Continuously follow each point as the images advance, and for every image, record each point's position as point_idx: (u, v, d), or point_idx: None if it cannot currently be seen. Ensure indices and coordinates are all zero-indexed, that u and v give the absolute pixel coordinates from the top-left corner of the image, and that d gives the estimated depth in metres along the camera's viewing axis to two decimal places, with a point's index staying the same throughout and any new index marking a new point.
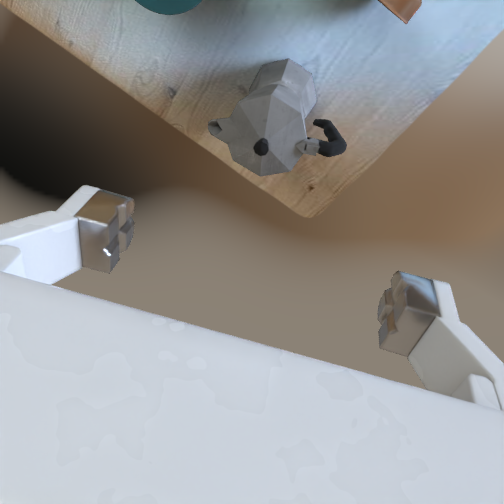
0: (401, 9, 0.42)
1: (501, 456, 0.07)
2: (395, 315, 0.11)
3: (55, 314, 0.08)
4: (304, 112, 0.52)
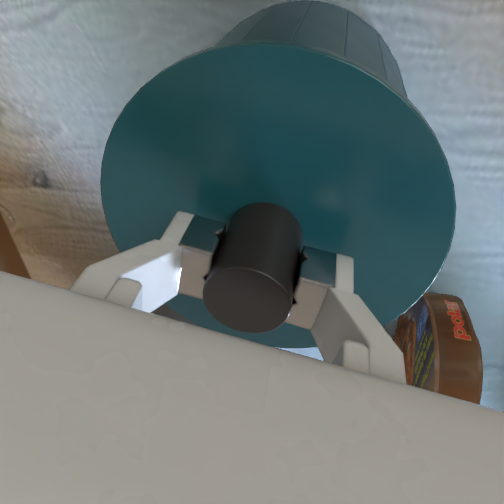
0: None
1: (501, 456, 0.07)
2: None
3: (55, 314, 0.08)
4: None
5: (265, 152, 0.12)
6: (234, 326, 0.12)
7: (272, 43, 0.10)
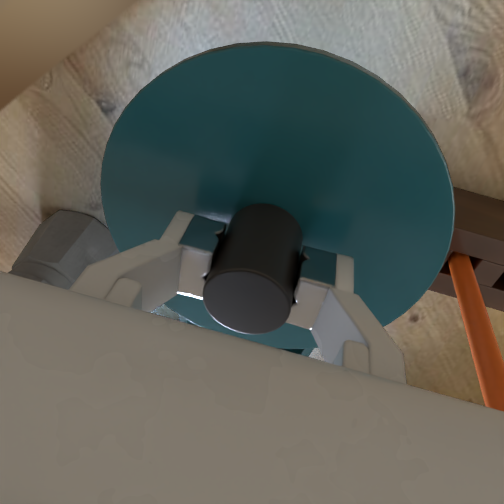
0: None
1: (501, 456, 0.07)
2: None
3: (55, 314, 0.08)
4: None
5: (265, 153, 0.12)
6: (234, 327, 0.12)
7: (272, 45, 0.10)
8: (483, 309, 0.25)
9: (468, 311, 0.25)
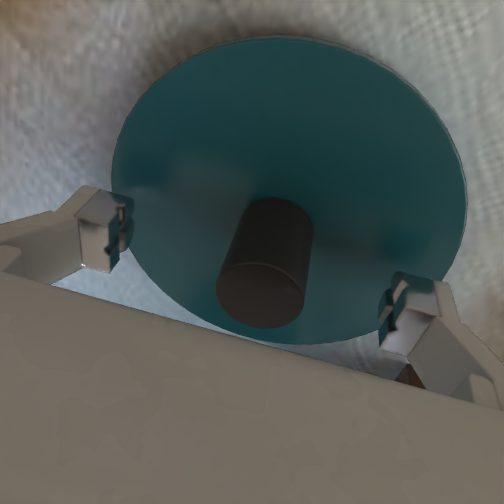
0: None
1: (501, 456, 0.07)
2: (395, 315, 0.11)
3: (55, 314, 0.08)
4: None
5: (277, 147, 0.12)
6: (245, 321, 0.12)
7: (287, 38, 0.10)
8: None
9: None
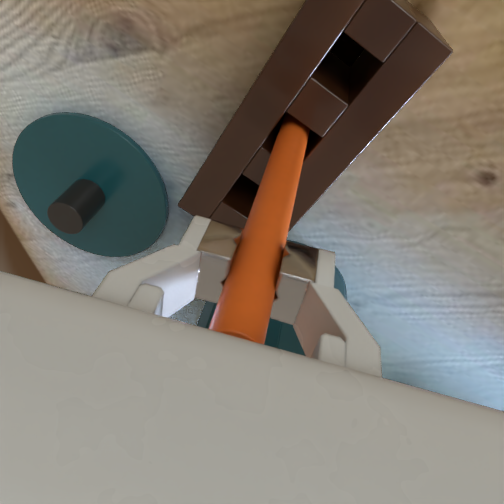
0: None
1: (501, 456, 0.07)
2: (276, 282, 0.11)
3: (55, 314, 0.08)
4: None
5: (50, 179, 0.29)
6: (78, 228, 0.27)
7: None
8: (263, 182, 0.15)
9: None
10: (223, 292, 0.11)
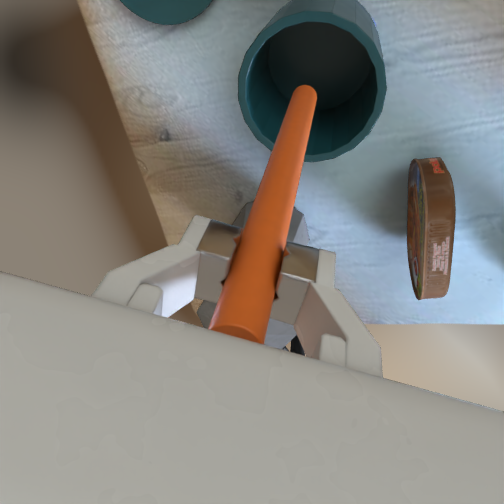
0: (426, 297, 0.42)
1: (501, 456, 0.07)
2: (276, 282, 0.11)
3: (55, 314, 0.08)
4: None
5: None
6: None
7: None
8: (264, 179, 0.15)
9: None
10: (225, 286, 0.11)
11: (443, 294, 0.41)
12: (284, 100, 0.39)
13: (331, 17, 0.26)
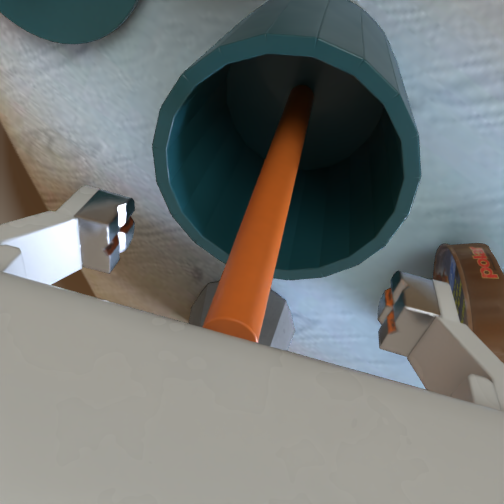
0: None
1: (501, 456, 0.07)
2: (395, 315, 0.11)
3: (55, 314, 0.08)
4: None
5: None
6: None
7: None
8: (260, 177, 0.15)
9: None
10: (220, 282, 0.11)
11: None
12: (252, 157, 0.26)
13: (316, 46, 0.13)
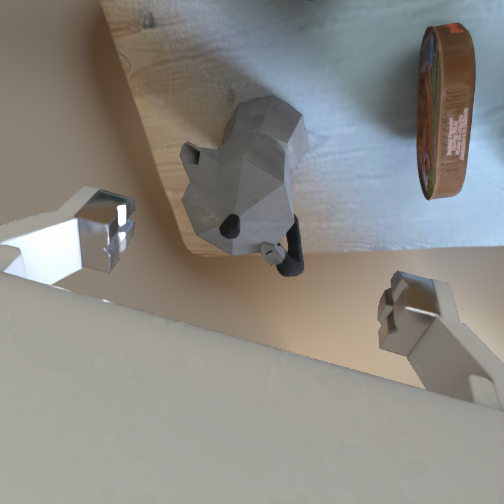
0: (439, 193, 0.38)
1: (501, 456, 0.07)
2: (395, 315, 0.11)
3: (55, 314, 0.08)
4: None
5: None
6: None
7: None
8: None
9: None
10: None
11: (458, 187, 0.37)
12: None
13: None
